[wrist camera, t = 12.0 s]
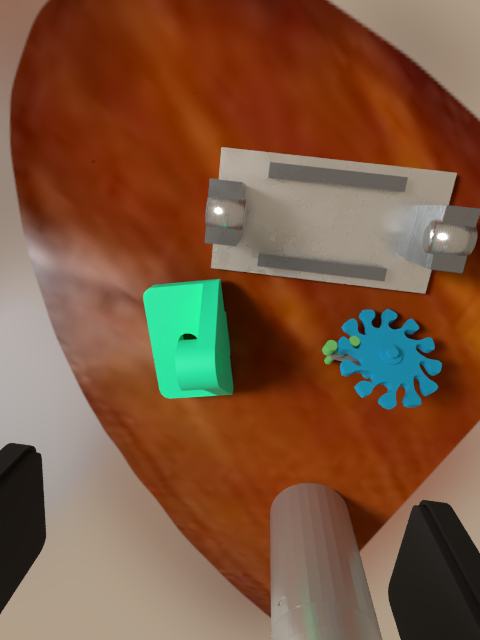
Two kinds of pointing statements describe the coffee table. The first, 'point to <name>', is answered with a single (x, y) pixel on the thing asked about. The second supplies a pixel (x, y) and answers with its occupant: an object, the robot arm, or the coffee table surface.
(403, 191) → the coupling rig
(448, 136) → the coffee table surface
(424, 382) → the gear
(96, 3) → the coffee table surface
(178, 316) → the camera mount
